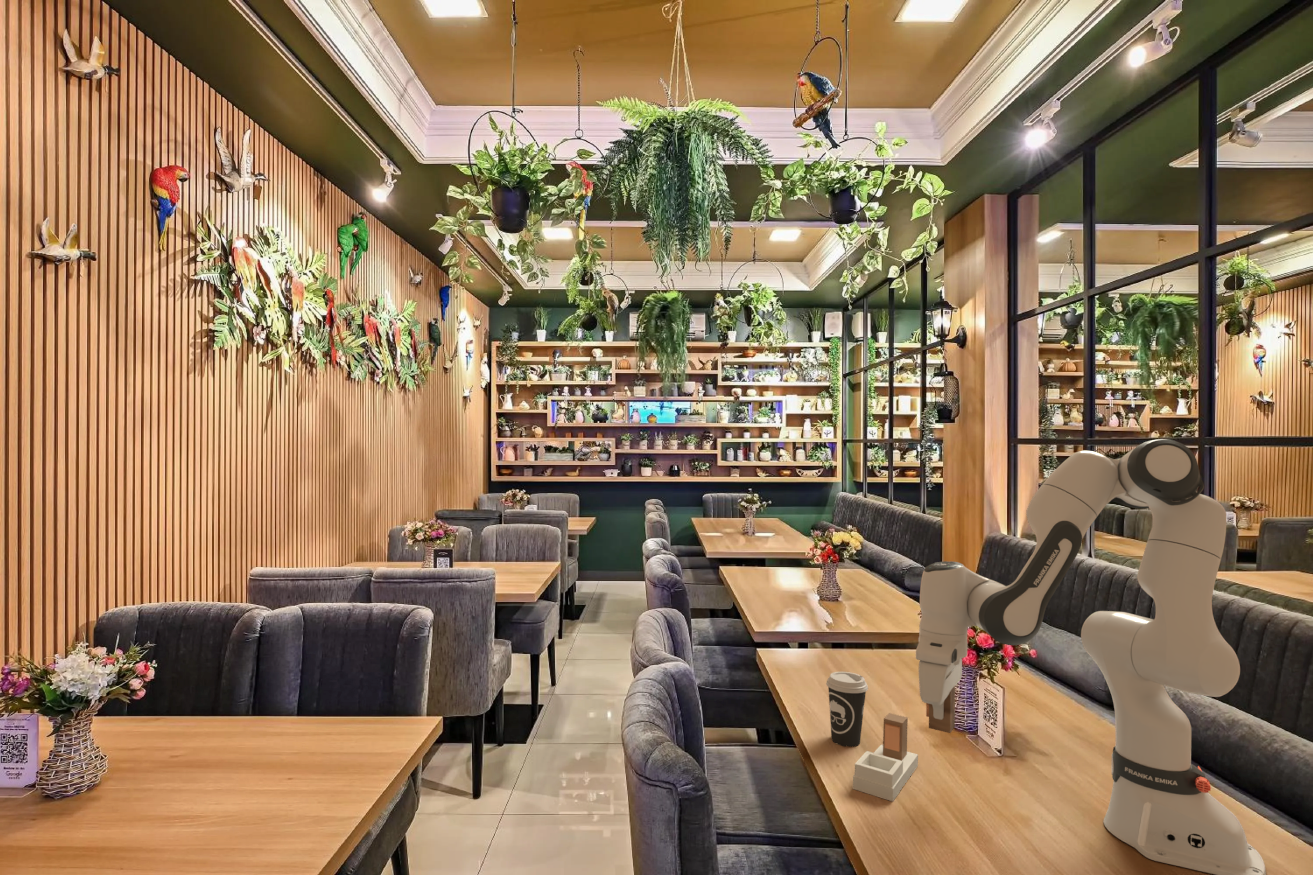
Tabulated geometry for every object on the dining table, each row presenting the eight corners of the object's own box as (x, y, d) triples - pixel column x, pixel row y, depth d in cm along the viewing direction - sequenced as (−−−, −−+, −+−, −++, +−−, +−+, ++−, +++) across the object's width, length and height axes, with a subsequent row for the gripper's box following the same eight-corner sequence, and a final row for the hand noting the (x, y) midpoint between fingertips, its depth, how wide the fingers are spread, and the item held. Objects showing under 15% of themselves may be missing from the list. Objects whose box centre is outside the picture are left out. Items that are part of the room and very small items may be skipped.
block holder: (917, 765, 146) (918, 717, 147) (892, 801, 131) (894, 747, 131) (880, 755, 151) (881, 708, 151) (852, 788, 135) (853, 736, 136)
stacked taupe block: (930, 720, 136) (930, 681, 136) (954, 726, 134) (954, 686, 134) (925, 727, 133) (925, 686, 133) (950, 733, 130) (950, 691, 131)
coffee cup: (868, 751, 153) (870, 685, 153) (825, 746, 154) (827, 681, 155) (864, 734, 162) (866, 672, 162) (823, 730, 164) (825, 668, 164)
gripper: (938, 630, 144) (937, 694, 144) (913, 652, 127) (912, 726, 127) (970, 635, 140) (969, 701, 140) (948, 659, 123) (947, 734, 123)
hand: (942, 713), depth 133 cm, fingers closed on stacked taupe block, 4 cm apart
